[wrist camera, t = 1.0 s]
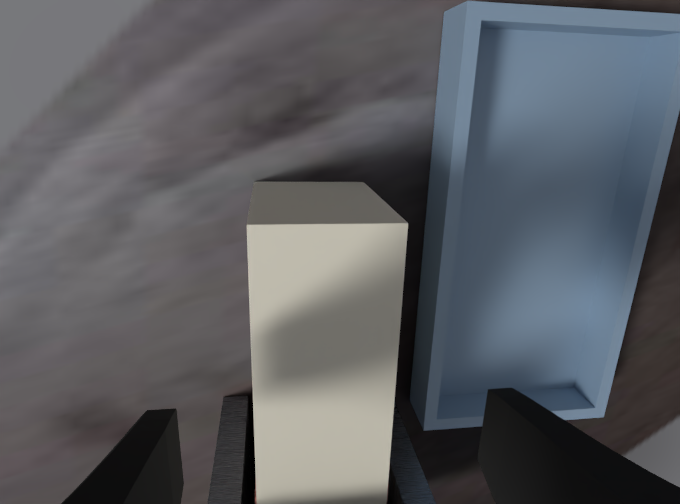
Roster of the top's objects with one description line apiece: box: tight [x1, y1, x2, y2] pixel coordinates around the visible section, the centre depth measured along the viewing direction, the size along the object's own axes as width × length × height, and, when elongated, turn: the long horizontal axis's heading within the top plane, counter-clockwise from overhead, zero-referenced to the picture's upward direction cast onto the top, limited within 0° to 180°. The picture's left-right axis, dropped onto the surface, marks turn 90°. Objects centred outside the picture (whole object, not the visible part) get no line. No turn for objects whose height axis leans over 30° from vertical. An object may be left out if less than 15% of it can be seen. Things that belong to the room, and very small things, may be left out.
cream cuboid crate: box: [247, 182, 408, 504], centre depth 16 cm, size 4×12×6 cm, turn 178°
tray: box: [410, 1, 680, 431], centre depth 18 cm, size 8×16×2 cm, turn 178°
